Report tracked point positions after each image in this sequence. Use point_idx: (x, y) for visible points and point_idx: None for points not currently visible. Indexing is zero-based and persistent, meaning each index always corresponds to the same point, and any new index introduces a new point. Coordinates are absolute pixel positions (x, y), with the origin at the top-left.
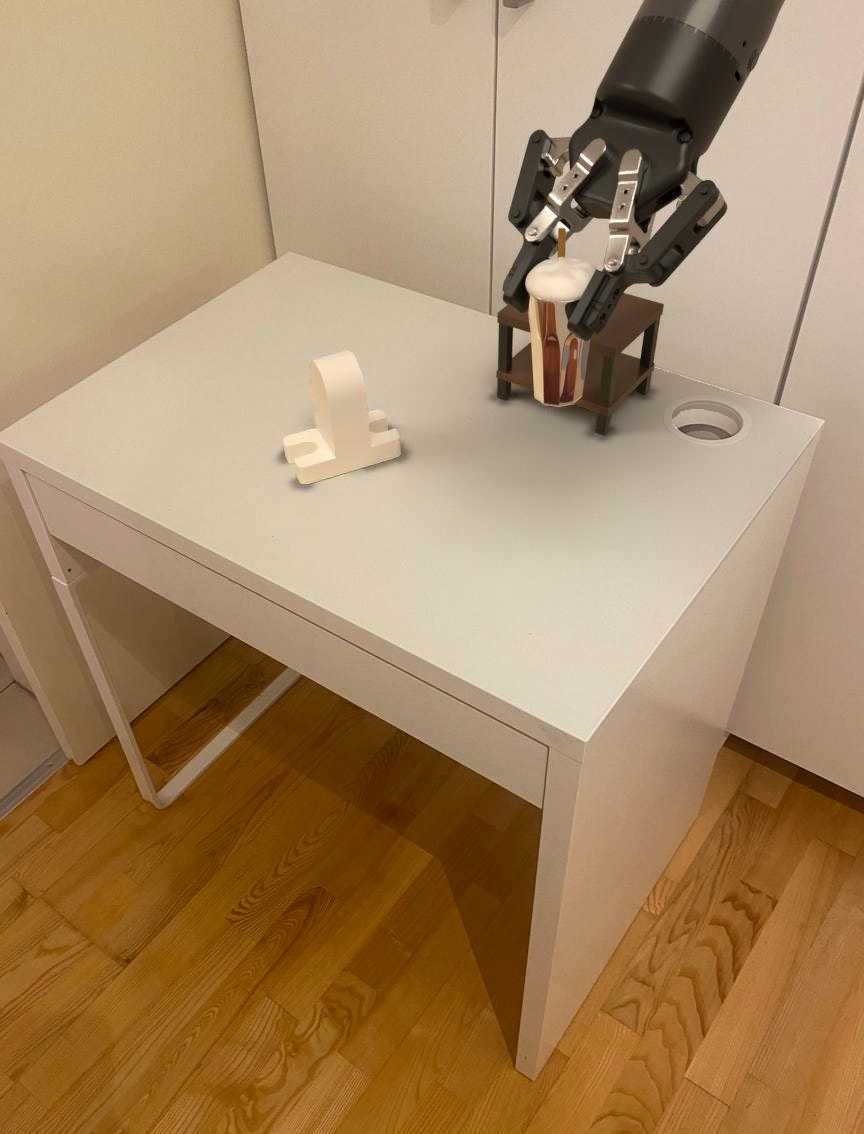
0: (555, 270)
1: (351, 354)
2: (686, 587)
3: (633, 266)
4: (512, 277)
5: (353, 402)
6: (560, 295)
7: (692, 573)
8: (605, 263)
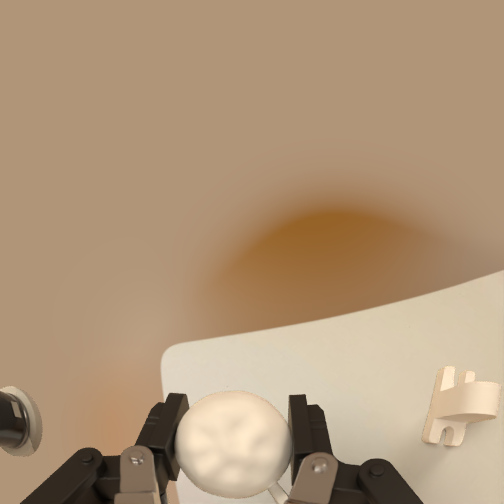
0: (234, 432)
1: (488, 412)
2: (178, 478)
3: (111, 464)
4: (307, 412)
5: (457, 403)
6: (199, 401)
7: (183, 491)
8: (149, 454)
